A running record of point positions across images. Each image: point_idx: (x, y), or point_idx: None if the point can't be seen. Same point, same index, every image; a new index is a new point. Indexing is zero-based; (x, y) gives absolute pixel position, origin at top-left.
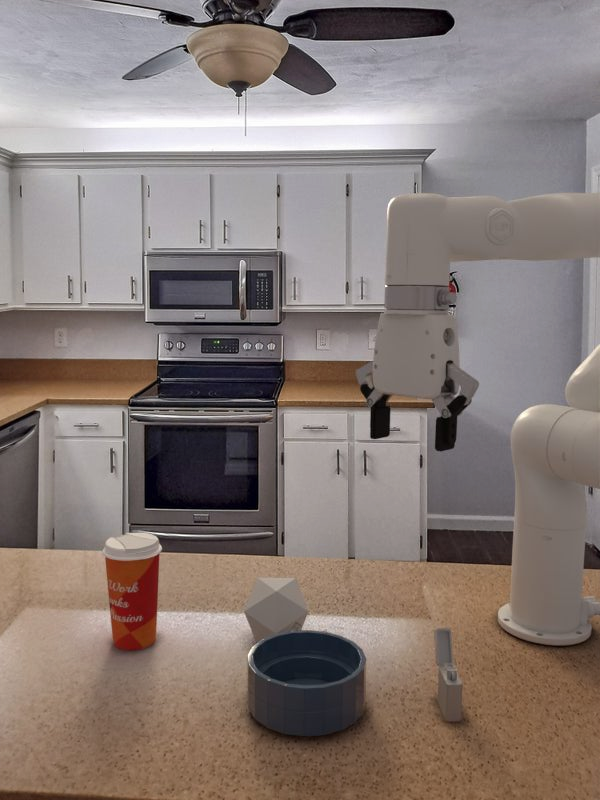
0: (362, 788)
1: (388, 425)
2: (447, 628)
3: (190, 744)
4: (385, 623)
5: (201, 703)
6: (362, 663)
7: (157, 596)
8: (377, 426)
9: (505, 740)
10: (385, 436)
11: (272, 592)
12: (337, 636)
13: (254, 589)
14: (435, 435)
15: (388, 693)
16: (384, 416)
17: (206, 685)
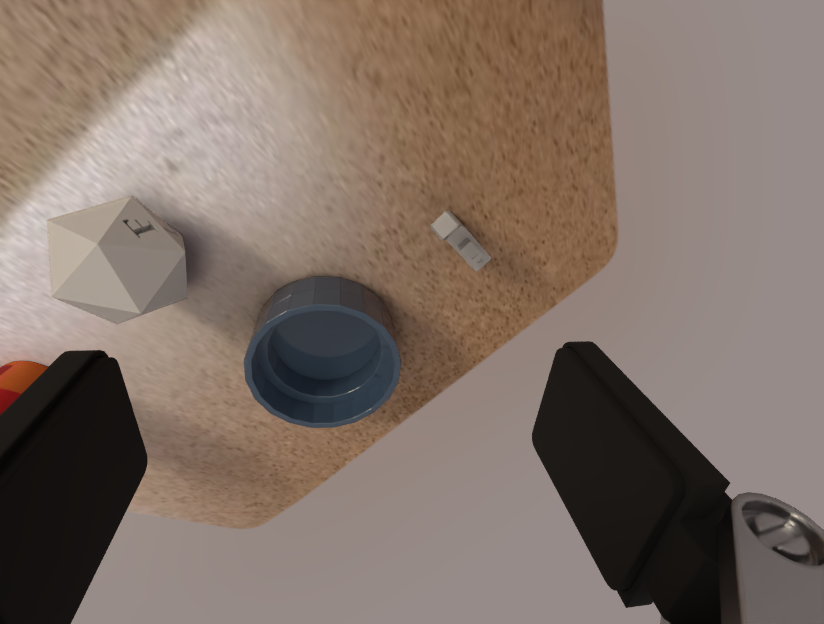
0: (450, 379)
1: (77, 414)
2: (455, 227)
3: (297, 436)
4: (217, 50)
5: (242, 400)
6: (388, 338)
7: (3, 411)
8: (111, 512)
9: (530, 238)
10: (123, 387)
11: (134, 313)
12: (312, 309)
13: (81, 307)
14: (562, 499)
15: (378, 250)
16: (49, 521)
17: (210, 380)
